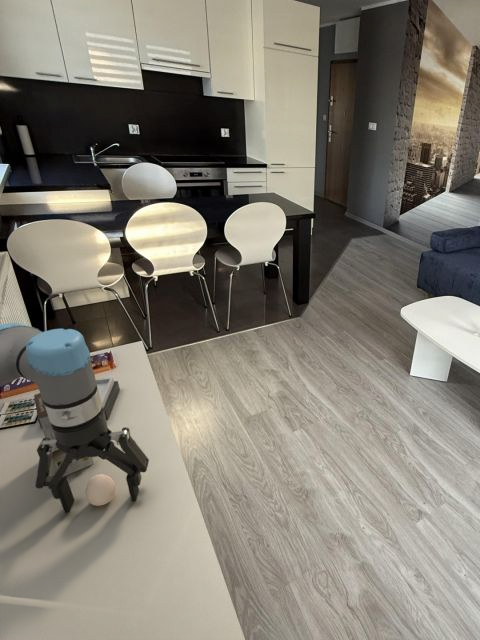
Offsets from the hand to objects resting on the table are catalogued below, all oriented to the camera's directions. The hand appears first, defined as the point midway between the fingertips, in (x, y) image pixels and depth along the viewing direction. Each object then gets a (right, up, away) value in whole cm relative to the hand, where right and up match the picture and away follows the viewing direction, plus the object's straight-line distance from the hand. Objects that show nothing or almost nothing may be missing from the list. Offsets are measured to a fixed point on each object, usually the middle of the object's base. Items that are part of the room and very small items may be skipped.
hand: (103, 500), depth 78 cm
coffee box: (-12, +5, +9) cm, 16 cm away
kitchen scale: (-20, +12, +22) cm, 32 cm away
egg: (0, 0, 0) cm, 0 cm away
